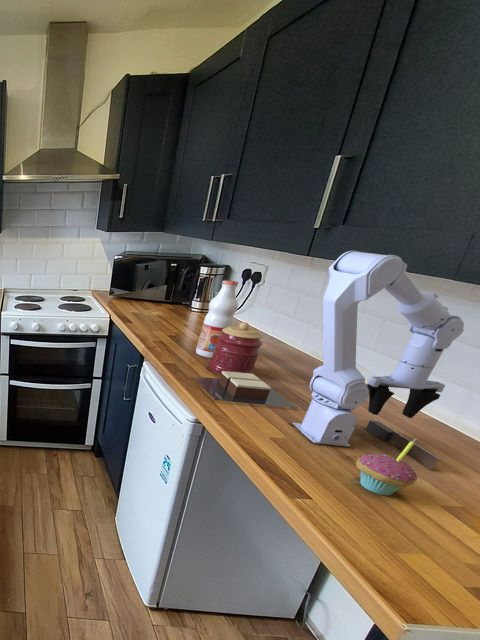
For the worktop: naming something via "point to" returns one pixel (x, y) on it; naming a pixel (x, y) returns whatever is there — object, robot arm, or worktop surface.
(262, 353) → the worktop surface
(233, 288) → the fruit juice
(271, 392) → the cake board
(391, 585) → the worktop surface
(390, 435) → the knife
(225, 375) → the cake back half
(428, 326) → the robot arm
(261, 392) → the cake front half
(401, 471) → the cupcake
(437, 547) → the worktop surface
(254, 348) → the kitchen canister
